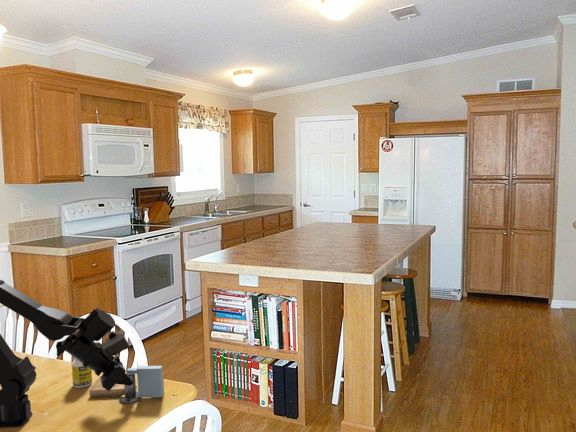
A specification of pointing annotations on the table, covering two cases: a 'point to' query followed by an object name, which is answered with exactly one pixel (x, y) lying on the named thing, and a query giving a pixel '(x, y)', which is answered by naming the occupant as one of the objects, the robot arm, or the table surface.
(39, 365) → the table surface
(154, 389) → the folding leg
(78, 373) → the supplement bottle
